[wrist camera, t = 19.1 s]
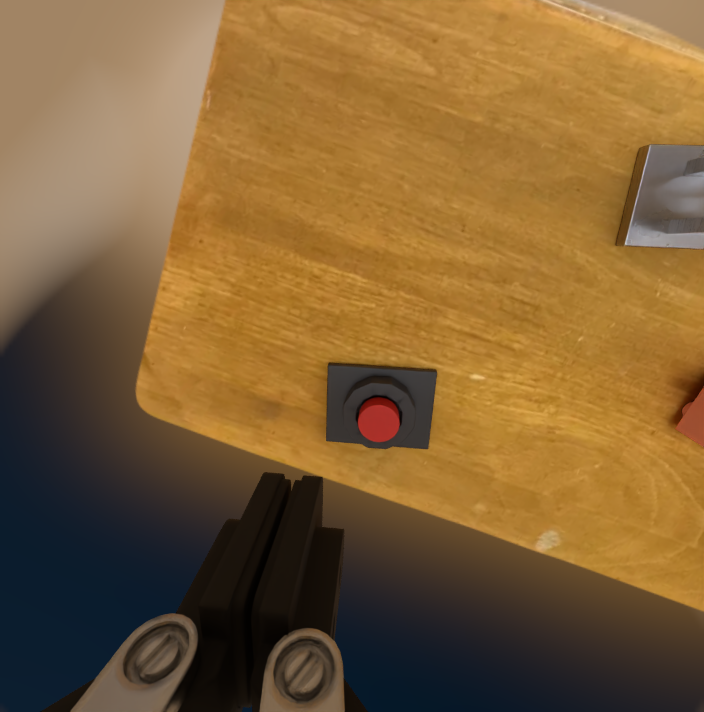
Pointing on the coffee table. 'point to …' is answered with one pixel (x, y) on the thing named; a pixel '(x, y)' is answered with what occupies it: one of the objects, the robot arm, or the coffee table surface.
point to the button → (378, 419)
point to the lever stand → (665, 199)
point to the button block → (394, 383)
